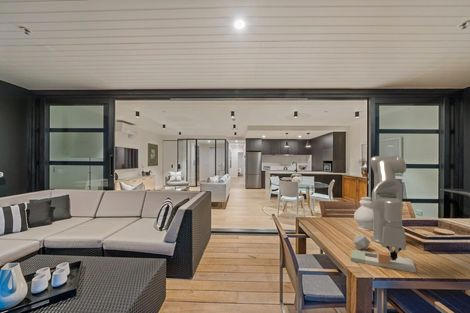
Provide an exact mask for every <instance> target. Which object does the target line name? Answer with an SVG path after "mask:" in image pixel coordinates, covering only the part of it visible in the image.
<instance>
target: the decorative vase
mask: <svg viewBox="0 0 470 313" xmlns="http://www.w3.org/2000/svg"><path fill="white" fill-rule="evenodd" d="M359 204H360V205H361V206H359V207H358V208H357V209H356V210H355V211H354V214H353V217H354V220H355V221H356V223H357V224H358V225H357V228H358V229H360V230H364V231H373V206H372V197H370V196H361V197H360V200H359Z"/></svg>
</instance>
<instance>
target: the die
mask: <svg viewBox="0 0 470 313" xmlns="http://www.w3.org/2000/svg"><path fill="white" fill-rule="evenodd" d="M352 243H353V244H354V246H355V247H356V248H357V249H358V250H368V249H369V246H370V244H371V241H370V239H369V238H367V236H366V235H365V234H355V236H354V239H353V242H352Z"/></svg>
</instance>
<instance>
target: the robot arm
mask: <svg viewBox="0 0 470 313" xmlns="http://www.w3.org/2000/svg"><path fill="white" fill-rule="evenodd" d="M369 162H370V167H371V168H372V171H373V184H374V185H373V189H372V192H371V201H372V205H371V207H372V208H373V230H372V232H373V235H372V236H371V237H370V240H371V241H373V242H375V243H381V247H383V248H385V249H387V250H388V251H389V255H390V258H392V260H395V261H396V259H397V257H398V253H399V252H401V251H406V250H407V240H406V232H405V228H404V227H403V213H402V212H403V209H404V203H403V185H402V182H401V181H400V180H398V179H396V174H405V173H406V171H407V164H406V162H405V160H404V159H403V158H402V157H401V156H399V155H375V156H372V157H371V158H370V161H369ZM393 248H394V250H393Z"/></svg>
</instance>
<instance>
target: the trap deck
mask: <svg viewBox="0 0 470 313" xmlns="http://www.w3.org/2000/svg"><path fill="white" fill-rule="evenodd" d="M350 252H351V253H350V262H354V263H358V264H359V263H360V264H366V265H371V266H376V267H382V268H387V269H392V270H393V269H394V270H399V271H404V272H409V273H410V272H411V273H417V269H416V266H415V264H414V262H413V259H412V258H408V257H407V258H406V257H400V256H397V259H396V261H395V260H392V258H390V265H389V264H382V263H379V262H378V253H375V252H369V251H363V250H356V249H351V251H350Z"/></svg>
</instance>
